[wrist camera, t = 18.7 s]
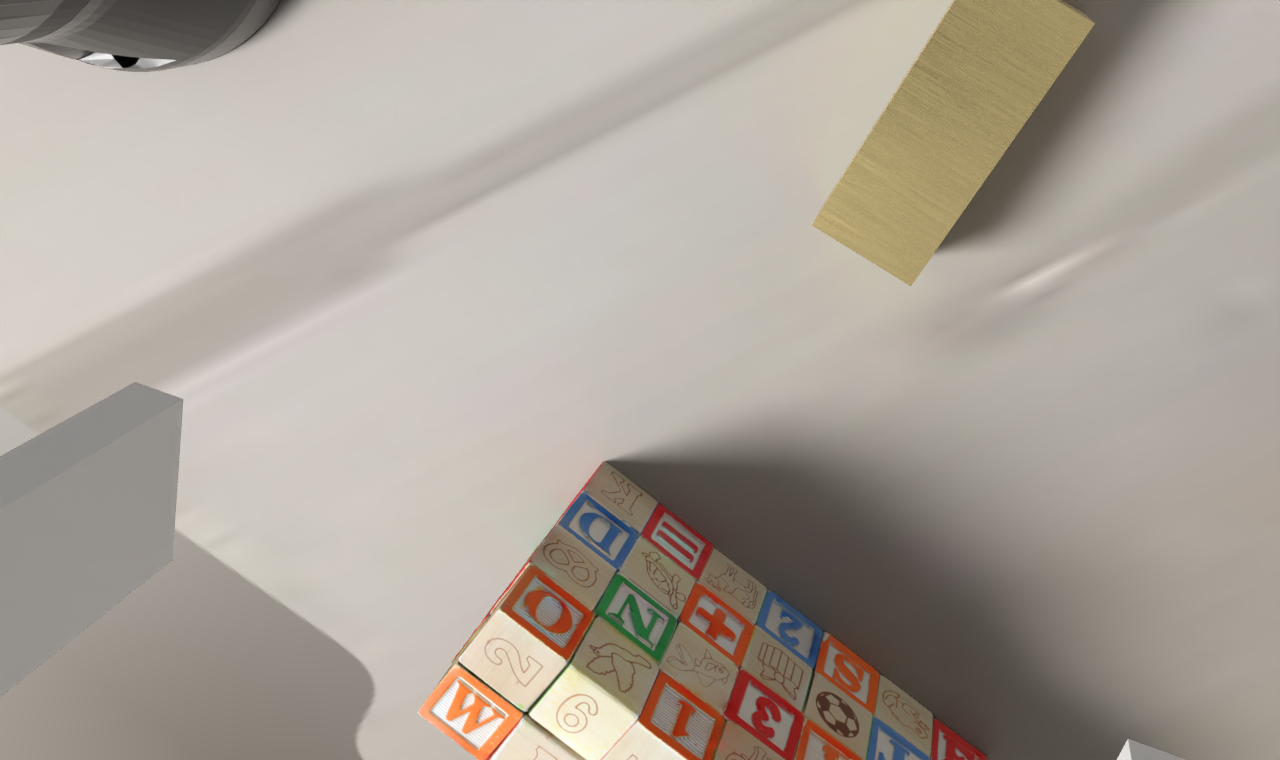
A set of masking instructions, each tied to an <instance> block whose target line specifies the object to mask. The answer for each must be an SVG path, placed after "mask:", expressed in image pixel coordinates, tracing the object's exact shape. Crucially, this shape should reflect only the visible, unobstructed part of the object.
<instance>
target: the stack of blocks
mask: <svg viewBox="0 0 1280 760" xmlns="http://www.w3.org/2000/svg"><path fill="white" fill-rule="evenodd" d="M418 713H419V715H420V716H422V717H423V718H424V719H426V720H427V721H428V722H430V723H431V724H432V725H434V726H435V727H436V728H438V729H439V730H440V731H442V732H443V733H444V734H446V735H447V736H448V737H450V738H451V739H452V740H453V741H455V742H456V743H457V744H458V745H459V746H461V747H462V748H464V749H465V750H467V751H468V752H469V753H470V754H472V755H473V756H474V757H476V758H477V759H478V760H989V759H988V757H987V756H985V755H984V754H983V753H982V752H980V751H979V750H977V749H976V748H975V747H973V746H972V745H971V744H969V743H968V742H967V741H965V740H964V739H963V738H961V737H960V736H959V735H957V734H956V733H954V732H953V731H952V730H951V729H949V728H948V727H947V726H945V725H944V724H942V723H941V722H940V721H939V720H938V719H935V718H933V715H932V713H931V712H930V711H929V710H927V709H926V708H925V707H923V706H922V705H921V704H920V703H918V702H917V701H916V700H915V699H913V698H912V697H911V696H909V695H908V694H907V693H905V692H904V691H903V690H901V689H900V688H899V687H898V686H896V685H895V684H894V683H892V682H891V681H890V680H888V679H887V678H885V677H884V676H882V675H880V674H879V673H878V672H877V671H876V670H875V669H874V668H873V667H872V666H870V665H869V664H868V663H867V662H865V661H864V660H863V659H861V658H860V657H859V656H857V655H856V654H855V653H854V652H852V651H851V650H850V649H849V648H847V647H846V646H845V645H844V644H842V643H841V642H840V641H838V640H837V639H835V638H834V637H833V636H832V635H831V634H829V633H827V632H823V631H822V630H821V629H820V628H819V627H818V626H816V625H815V624H814V623H813V622H811V621H810V620H809V619H807V618H806V617H804V616H803V615H802V614H801V613H799V612H798V611H797V610H796V609H794V608H793V607H791V606H790V605H789V604H788V603H786V602H785V601H784V600H782V599H781V598H780V597H779V596H777V595H776V594H775V593H774V592H772V591H769V590H767V589H766V587H765V586H763V585H762V584H761V583H760V582H758V581H757V580H756V579H755V578H753V577H752V576H751V575H749V574H748V573H747V572H745V571H744V570H743V569H741V568H740V567H739V566H737V565H736V564H735V563H733V562H732V561H731V560H730V559H728V558H727V557H726V556H724V555H723V554H722V553H720V552H719V551H718V550H716V549H715V548H714V547H713V545H712V544H711V543H710V542H708V541H707V540H706V539H705V538H703V537H702V536H701V535H700V534H698V533H697V532H696V531H694V530H693V529H692V528H690V527H689V526H688V525H686V524H685V523H684V522H683V521H681V520H680V519H679V518H678V517H676V516H675V515H674V514H672V513H671V512H670V511H668V510H667V509H666V508H664V507H663V506H662V505H661V504H659V503H658V502H657V501H656V500H655V499H654V498H652V497H651V496H650V495H649V494H647V493H646V492H645V491H643V490H642V489H641V488H640V487H638V486H637V485H636V484H634V483H633V482H632V481H631V480H629V479H628V478H627V477H625V476H624V475H623V474H621V473H620V472H619V471H618V470H616V469H615V468H614V467H612V466H611V465H610V464H608V463H607V462H603V463H602V464H601V465H600V466H599V468H598V469H597V470H596V472H595V473H594V474H593V475H592V477H591V478H590V479H589V480H588V482H587V483H586V484H585V486H584V487H583V488H582V489H581V491H580V492H579V493H578V495H577V496H576V497H575V499H574V500H573V501H572V502H571V504H570V505H569V506H568V508H567V509H566V510H565V512H564V513H563V514H562V516H561V517H560V519H559V520H558V521H557V523H556V524H555V525H554V527H553V528H552V529H551V531H550V532H549V533H548V534H547V536H546V537H545V538H544V540H543V541H542V542H541V543H540V545H539V546H538V547H537V548H536V549H535V551H534V552H533V553H532V555H531V556H530V557H529V559H528V560H527V562H526V563H525V564H524V565H523V567H522V568H521V570H520V571H519V573H518V574H517V575H516V577H515V578H514V580H513V581H512V582H511V583H510V585H509V586H508V587H507V588H506V590H505V591H504V592H503V594H502V595H501V596H500V598H499V599H498V600H497V602H496V603H495V604H494V606H493V607H492V608H491V610H490V611H489V613H488V614H487V615H486V617H485V618H484V619H483V621H482V622H481V624H480V625H479V626H478V628H477V629H476V630H475V631H474V632H473V634H472V635H471V637H470V638H469V640H468V641H467V642H466V643H465V645H464V646H463V648H462V649H461V651H460V652H459V653H458V654H457V655H456V657H455V658H454V660H453V661H452V665H451V666H450V667H449V669H448V670H447V672H446V673H445V674H444V676H443V677H442V679H441V680H440V681H439V683H438V684H437V686H436V687H435V688H434V690H433V691H432V693H431V694H430V695H429V697H428V698H427V700H426V701H425V702H424V704H423V705H422V707H421V708H420V710H419V711H418Z"/></svg>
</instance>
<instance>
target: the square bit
mask: <svg viewBox="0 0 1280 760" xmlns="http://www.w3.org/2000/svg"><path fill="white" fill-rule="evenodd" d="M1094 25H1095V23H1094V22H1093V21H1092V20H1091V19H1090V18H1089V17H1088V16H1087V15H1086V14H1085V13H1083V12H1081V11H1080V10H1078V9H1076V8H1075V7H1073V6H1071V5H1070V4H1068V3H1066V2H1065V1H1063V0H953V1H952V3H951V5H950V6H949V8H948V9H947V11H946V12H945V14H944V16H943V17H942V19H941V20H940V22H939V23H938V25H937V27H936V28H935V30H934V31H933V33H932V35H931V36H930V38H929V39H928V41H927V42H926V44H925V46H924V47H923V49H922V50H921V52H920V53H919V55H918V57H917V58H916V60H915V61H914V63H913V64H912V66H911V68H910V69H909V71H908V72H907V74H906V75H905V77H904V79H903V80H902V82H901V83H900V85H899V86H898V88H897V90H896V91H895V93H894V94H893V96H892V97H891V99H890V101H889V102H888V104H887V105H886V107H885V108H884V110H883V112H882V113H881V115H880V116H879V118H878V119H877V121H876V123H875V124H874V126H873V127H872V129H871V130H870V132H869V134H868V135H867V137H866V138H865V140H864V141H863V143H862V145H861V146H860V148H859V149H858V151H857V153H856V154H855V156H854V157H853V159H852V160H851V162H850V164H849V165H848V167H847V168H846V170H845V171H844V173H843V175H842V176H841V178H840V179H839V181H838V182H837V184H836V186H835V187H834V189H833V190H832V192H831V193H830V195H829V197H828V198H827V200H826V201H825V203H824V205H823V207H822V208H821V210H820V212H819V214H818V215H817V217H816V219H815V221H814V222H813V224H812V226H814V227H816V228H817V229H819V230H821V231H822V232H824V233H825V234H827V235H829V236H830V237H832V238H834V239H835V240H837V241H838V242H840V243H842V244H843V245H845V246H847V247H848V248H850V249H851V250H853V251H855V252H856V253H858V254H859V255H861V256H863V257H864V258H866V259H868V260H869V261H871V262H872V263H874V264H876V265H877V266H879V267H881V268H882V269H884V270H885V271H887V272H889V273H890V274H892V275H894V276H895V277H897V278H898V279H900V280H902V281H903V282H905V283H906V284H908V285H910V286H911V285H912V284H913V282H914V281H915V280H916V278H917V277H918V275H919V274H920V272H921V271H922V270H923V268H924V267H925V265H926V264H927V262H928V261H929V260H930V258H931V257H932V255H933V254H934V252H935V251H936V250H937V248H938V247H939V245H940V244H941V242H942V241H943V240H944V238H945V237H946V235H947V234H948V233H949V231H950V230H951V228H952V227H953V225H954V224H955V223H956V221H957V220H958V218H959V217H960V215H961V214H962V213H963V211H964V210H965V208H966V207H967V205H968V204H969V203H970V201H971V200H972V198H973V197H974V195H975V194H976V193H977V191H978V190H979V188H980V187H981V186H982V184H983V183H984V181H985V180H986V178H987V177H988V176H989V174H990V173H991V171H992V170H993V168H994V167H995V166H996V164H997V163H998V161H999V160H1000V158H1001V157H1002V156H1003V154H1004V153H1005V151H1006V150H1007V148H1008V147H1009V146H1010V144H1011V143H1012V141H1013V140H1014V139H1015V137H1016V136H1017V134H1018V133H1019V131H1020V130H1021V129H1022V127H1023V126H1024V124H1025V123H1026V121H1027V120H1028V119H1029V117H1030V116H1031V114H1032V113H1033V111H1034V110H1035V109H1036V107H1037V106H1038V104H1039V103H1040V101H1041V100H1042V99H1043V97H1044V96H1045V94H1046V93H1047V92H1048V90H1049V89H1050V87H1051V86H1052V84H1053V83H1054V82H1055V80H1056V79H1057V77H1058V76H1059V74H1060V73H1061V72H1062V70H1063V69H1064V67H1065V66H1066V64H1067V63H1068V62H1069V60H1070V59H1071V57H1072V56H1073V54H1074V53H1075V52H1076V50H1077V49H1078V47H1079V46H1080V45H1081V43H1082V42H1083V40H1084V39H1085V37H1086V36H1087V35H1088V33H1089V32H1090V30H1091V29H1092V27H1093V26H1094Z"/></svg>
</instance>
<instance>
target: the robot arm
mask: <svg viewBox="0 0 1280 760" xmlns="http://www.w3.org/2000/svg"><path fill="white" fill-rule="evenodd" d="M279 2H280V0H0V45H4V44H13V43H20V44H23V45H27V46H30V47H34V48H37V49H40V50H44V51H47V52H51V53H54V54H57V55H61V56H64V57H68V58H71V59H76V60H80V61H82V62H85V63H88V64H92V65H96V66H100V67H103V68H108V69H113V70H120V71H131V72H150V71H160V70H166V69H171V68H177V67H182V66H188V65H193V64H198V63H202V62H205V61H209V60H211V59H214V58H217V57H219V56H221V55H223V54H225V53H227V52H229V51H231V50H232V49H234V48H236V47H237V46H239V45H240V44H242V43H243V42H244V41H246V40H247V39H248V38H249V37H251V36H252V35H253V34H254V33H255V32H256V31H257V30H258V29H259V28H260V27H261V26H262V25H263V24H264V23H265V21H266V20H267V19H268V18H269V16H270V15H271V14H272V13H273V11H274V10H275V8H276V7H277V5H278V4H279ZM182 410H183V399H181V398H178V397H176V396H173V395H170V394H167V393H164V392H162V391H159V390H156V389H153V388H151V387H148V386H145V385H142V384H139V383H137V382H134V383H133V384H131V385H129V386H127V387H125V388H124V389H122V390H120V391H118V392H116V393H114V394H113V395H111V396H109V397H107V398H105V399H104V400H102V401H100V402H98V403H96V404H95V405H93V406H91V407H89V408H87V409H85V410H84V411H82V412H80V413H78V414H76V415H75V416H73V417H71V418H69V419H67V420H65V421H64V422H62V423H60V424H58V425H56V426H55V427H53V428H51V429H49V430H47V431H45V432H44V433H42V434H40V435H38V436H36V437H35V438H33V439H31V440H29V441H27V442H26V443H24V444H22V445H20V446H18V447H16V448H15V449H13V450H11V451H9V452H7V453H6V454H4V455H2V456H0V697H1V696H2V695H4V694H5V693H6V692H7V691H9V690H10V689H11V688H13V687H14V686H15V685H16V684H17V683H19V682H20V681H21V680H22V679H24V678H25V677H26V676H27V675H29V674H30V673H31V672H33V671H34V670H35V669H36V668H38V667H39V666H40V665H41V664H43V663H44V662H45V661H46V660H48V659H49V658H50V657H52V656H53V655H54V654H55V653H57V652H58V651H59V650H60V649H62V648H63V647H64V646H65V645H66V644H68V643H69V642H70V641H72V640H73V639H74V638H75V637H77V636H78V635H79V634H80V633H82V632H83V631H84V630H85V629H87V628H88V627H89V626H90V625H92V624H93V623H94V622H96V621H97V620H98V619H99V618H101V617H102V616H103V615H104V614H106V613H107V612H108V611H109V610H110V609H112V608H113V607H114V606H115V605H117V604H118V603H119V602H121V601H122V600H123V599H124V598H126V597H127V596H128V595H129V594H131V593H132V592H133V591H134V590H136V589H137V588H138V587H139V586H141V585H142V584H143V583H145V582H146V581H147V580H148V579H150V578H151V577H152V576H153V575H155V574H156V573H157V572H158V571H160V570H161V569H162V568H163V567H165V566H166V565H167V564H168V563H170V562H171V561H172V555H173V540H174V527H175V512H176V498H177V483H178V469H179V454H180V439H181V425H182ZM1117 760H1186V759H1183V758H1180V757H1177V756H1175V755H1172V754H1169V753H1166V752H1163V751H1161V750H1158V749H1155V748H1152V747H1149V746H1147V745H1144V744H1141V743H1138V742H1136V741H1133V740H1130V739H1128V740H1127V741H1126V743H1125V745H1124V747H1123V749H1122V751H1121V753H1120V755H1119V756H1118V758H1117Z"/></svg>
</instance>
